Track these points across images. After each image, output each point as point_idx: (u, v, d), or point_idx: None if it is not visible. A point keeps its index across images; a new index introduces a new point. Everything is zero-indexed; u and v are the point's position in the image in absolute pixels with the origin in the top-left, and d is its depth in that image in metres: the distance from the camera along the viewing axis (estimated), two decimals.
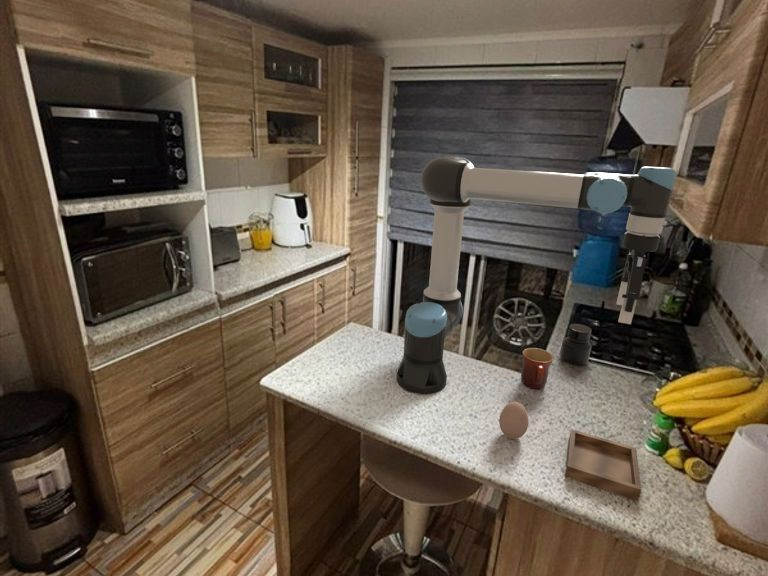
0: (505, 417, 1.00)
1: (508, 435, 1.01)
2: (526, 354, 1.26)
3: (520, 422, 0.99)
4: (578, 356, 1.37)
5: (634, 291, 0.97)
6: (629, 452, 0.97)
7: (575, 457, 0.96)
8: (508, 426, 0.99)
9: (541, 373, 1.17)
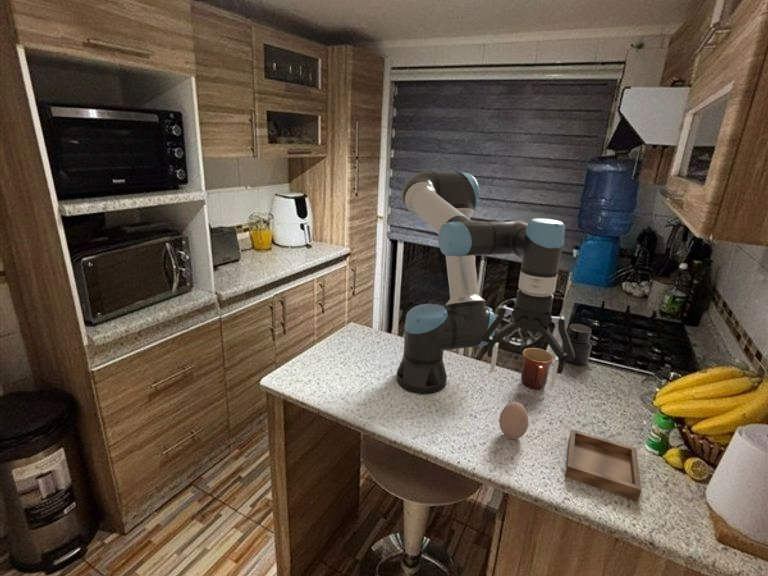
0: (505, 417, 1.00)
1: (508, 435, 1.01)
2: (526, 354, 1.26)
3: (520, 422, 0.99)
4: (578, 356, 1.37)
5: (485, 332, 0.98)
6: (629, 452, 0.97)
7: (575, 457, 0.96)
8: (508, 426, 0.99)
9: (541, 373, 1.17)
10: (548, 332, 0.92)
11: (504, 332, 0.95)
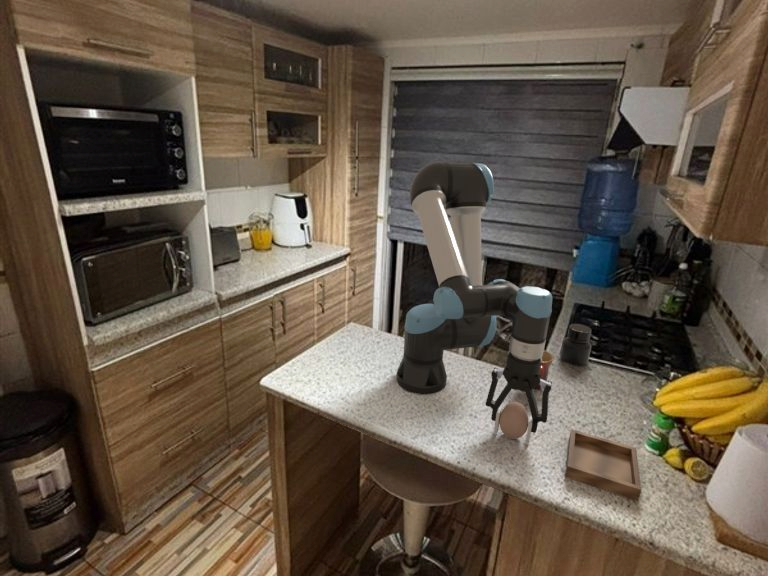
0: (505, 417, 1.00)
1: (508, 435, 1.01)
2: None
3: (520, 422, 0.99)
4: (578, 356, 1.37)
5: None
6: (629, 452, 0.97)
7: (575, 457, 0.96)
8: (508, 426, 0.99)
9: (541, 373, 1.17)
10: (532, 394, 0.97)
11: (502, 395, 1.00)
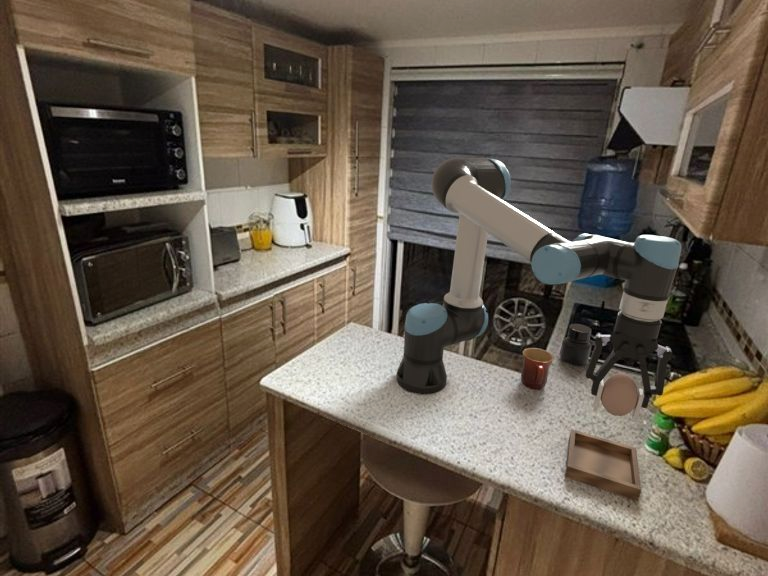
0: (611, 390, 0.86)
1: (614, 411, 0.87)
2: (526, 354, 1.26)
3: (631, 396, 0.85)
4: (578, 356, 1.37)
5: (587, 368, 0.89)
6: (629, 452, 0.97)
7: (575, 457, 0.96)
8: (616, 400, 0.86)
9: (541, 373, 1.17)
10: None
11: (608, 365, 0.86)
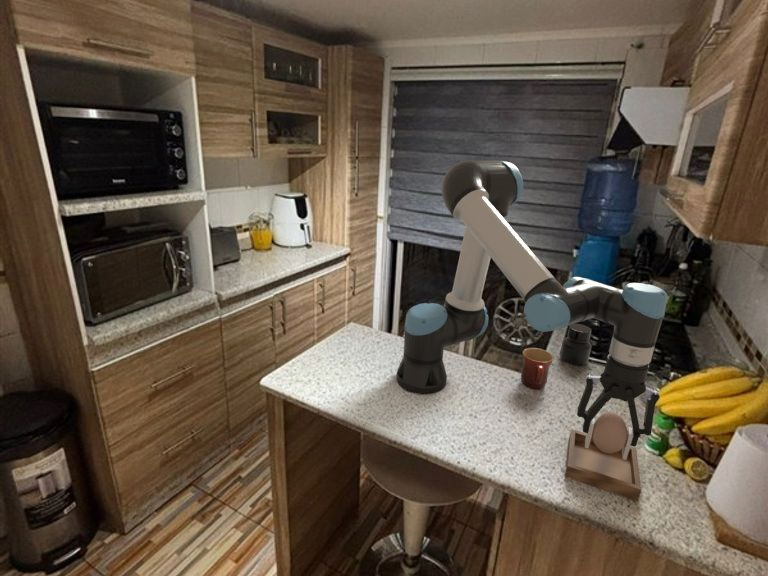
0: (601, 429, 0.90)
1: (604, 449, 0.90)
2: (526, 354, 1.26)
3: (620, 435, 0.88)
4: (578, 356, 1.37)
5: (578, 407, 0.93)
6: (629, 452, 0.97)
7: (575, 457, 0.96)
8: (606, 439, 0.89)
9: (541, 373, 1.17)
10: None
11: (598, 405, 0.90)
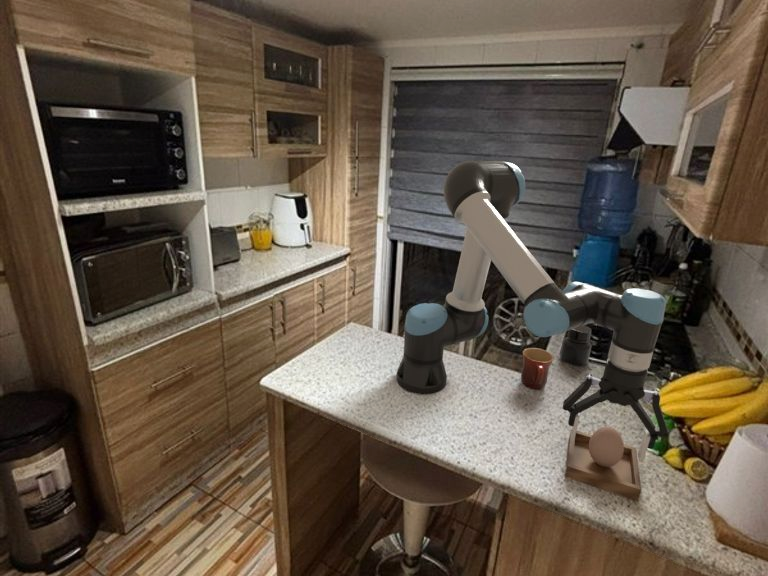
0: (598, 443, 0.91)
1: (601, 463, 0.91)
2: (526, 354, 1.26)
3: (616, 449, 0.89)
4: (578, 356, 1.37)
5: (566, 400, 0.94)
6: (629, 452, 0.97)
7: (575, 457, 0.96)
8: (603, 453, 0.90)
9: (541, 373, 1.17)
10: (639, 406, 0.87)
11: (589, 403, 0.90)
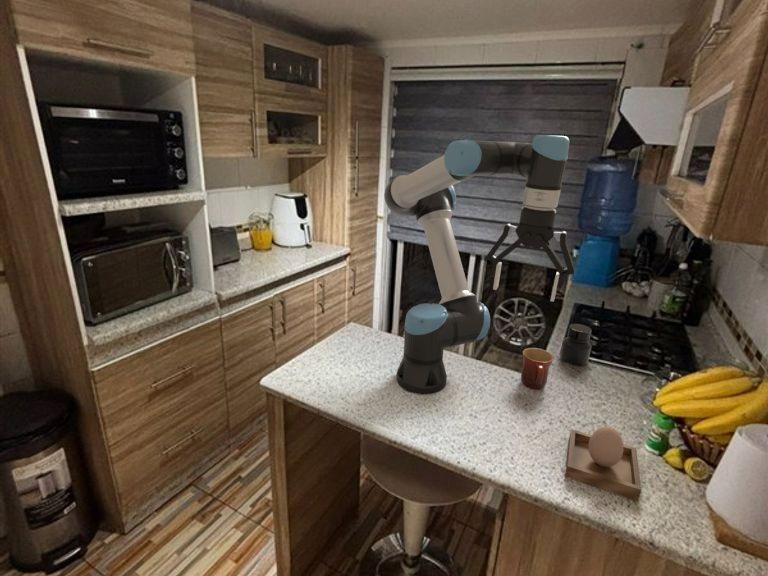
0: (598, 443, 0.91)
1: (601, 463, 0.91)
2: (526, 354, 1.26)
3: (616, 449, 0.89)
4: (578, 356, 1.37)
5: None
6: (629, 452, 0.97)
7: (575, 457, 0.96)
8: (603, 453, 0.90)
9: (541, 373, 1.17)
10: (550, 247, 0.96)
11: (508, 249, 1.00)
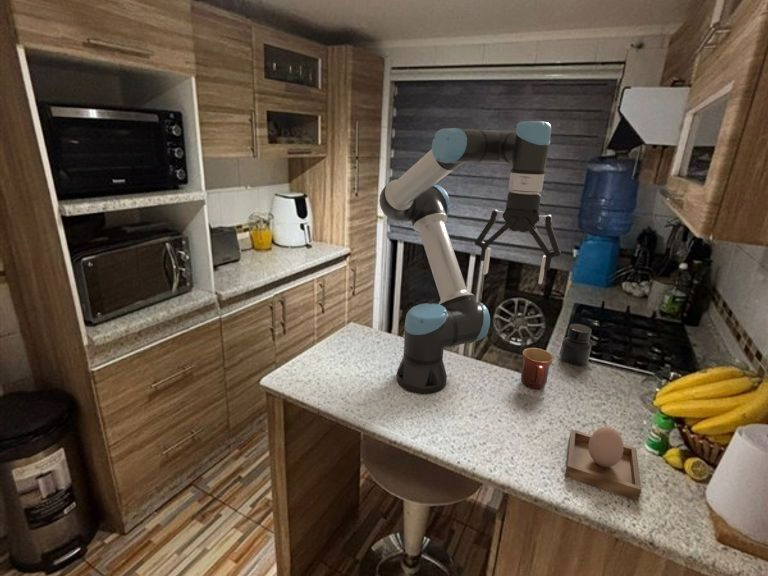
0: (598, 443, 0.91)
1: (601, 463, 0.91)
2: (526, 354, 1.26)
3: (616, 449, 0.89)
4: (578, 356, 1.37)
5: None
6: (629, 452, 0.97)
7: (575, 457, 0.96)
8: (603, 453, 0.90)
9: (541, 373, 1.17)
10: (536, 231, 0.99)
11: (496, 234, 1.03)
